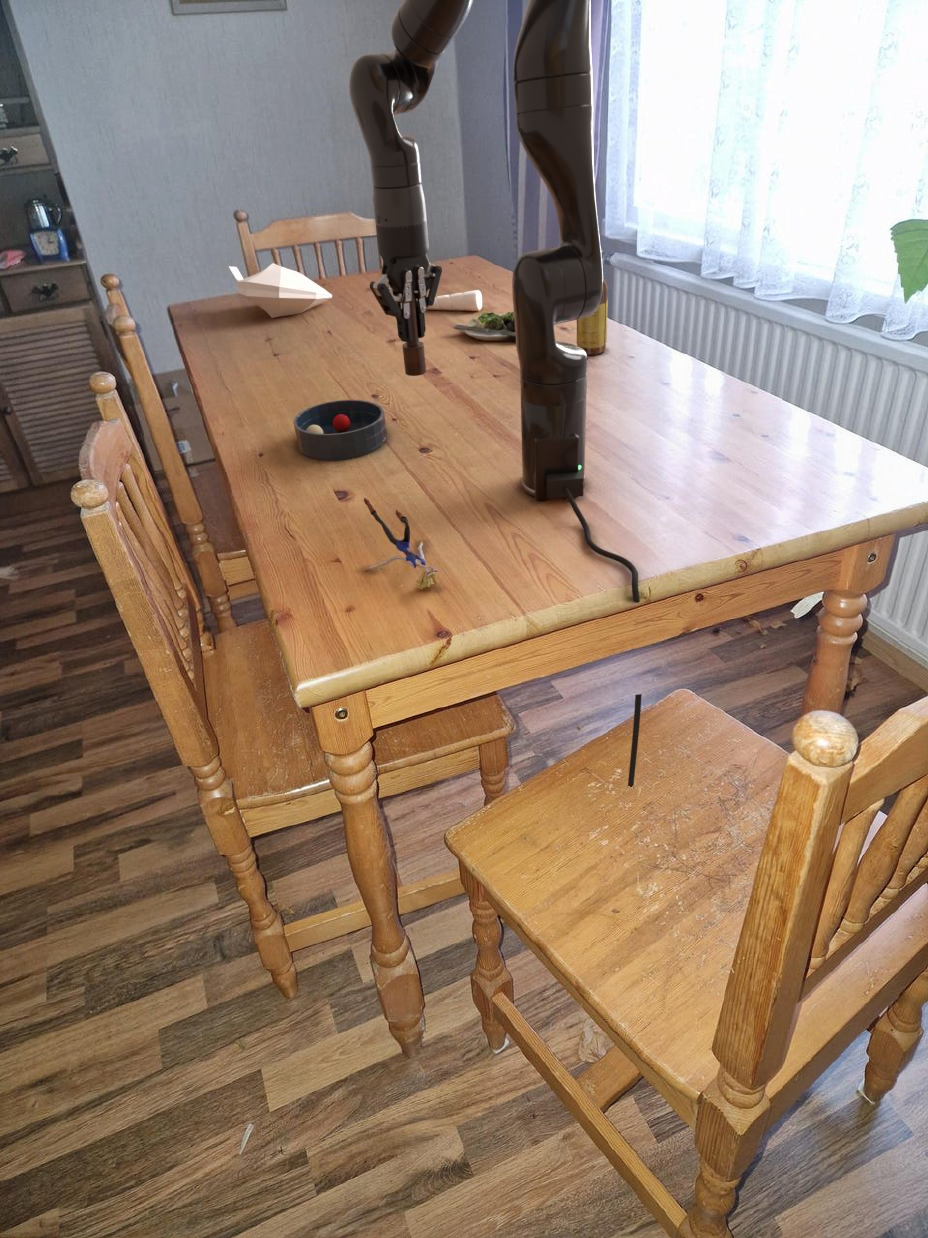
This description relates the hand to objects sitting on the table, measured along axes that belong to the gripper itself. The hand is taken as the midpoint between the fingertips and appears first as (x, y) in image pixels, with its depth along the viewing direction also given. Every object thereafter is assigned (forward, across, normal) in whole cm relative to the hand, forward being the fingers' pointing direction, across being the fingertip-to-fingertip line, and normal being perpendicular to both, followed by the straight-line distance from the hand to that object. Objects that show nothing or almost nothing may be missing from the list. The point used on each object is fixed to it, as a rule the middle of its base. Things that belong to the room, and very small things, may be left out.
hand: (412, 338), depth 128 cm
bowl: (+17, -8, +12) cm, 22 cm away
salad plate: (+18, +54, +28) cm, 63 cm away
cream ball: (+15, -12, +14) cm, 24 cm away
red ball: (+15, -6, +14) cm, 22 cm away
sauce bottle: (+18, +53, +4) cm, 56 cm away
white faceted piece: (+18, +36, +90) cm, 98 cm away
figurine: (+17, -30, -28) cm, 45 cm away
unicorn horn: (+18, +59, +54) cm, 82 cm away
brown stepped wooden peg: (+5, 0, 0) cm, 5 cm away
